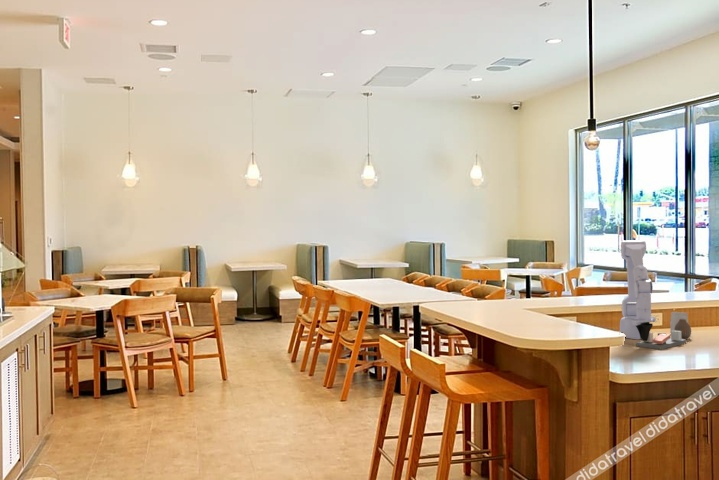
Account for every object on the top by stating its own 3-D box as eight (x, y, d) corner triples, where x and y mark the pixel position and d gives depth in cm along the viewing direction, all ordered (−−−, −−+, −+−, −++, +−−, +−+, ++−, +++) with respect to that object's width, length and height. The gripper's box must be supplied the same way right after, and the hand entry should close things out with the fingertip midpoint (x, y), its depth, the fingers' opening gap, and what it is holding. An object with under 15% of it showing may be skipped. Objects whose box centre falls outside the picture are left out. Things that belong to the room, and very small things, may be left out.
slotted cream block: (642, 341, 300) (642, 332, 299) (646, 340, 301) (645, 331, 301) (649, 342, 297) (649, 333, 297) (653, 341, 298) (652, 332, 298)
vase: (688, 337, 315) (687, 317, 315) (693, 339, 308) (693, 320, 308) (671, 337, 316) (671, 317, 315) (677, 340, 309) (677, 320, 309)
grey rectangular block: (685, 335, 320) (685, 313, 320) (670, 334, 324) (670, 312, 324) (688, 334, 323) (688, 312, 322) (673, 332, 327) (672, 311, 327)
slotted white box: (671, 339, 301) (671, 330, 301) (674, 339, 302) (674, 330, 302) (678, 340, 298) (678, 331, 298) (681, 339, 300) (681, 330, 300)
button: (656, 337, 308) (656, 333, 308) (660, 336, 310) (660, 332, 310) (663, 338, 305) (663, 334, 305) (668, 337, 307) (668, 333, 307)
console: (636, 346, 298) (636, 340, 298) (662, 339, 310) (662, 334, 310) (660, 349, 289) (660, 343, 289) (686, 343, 301) (686, 337, 301)
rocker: (652, 342, 294) (652, 339, 294) (661, 336, 298) (661, 333, 298) (661, 344, 291) (661, 340, 290) (670, 337, 295) (670, 334, 294)
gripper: (642, 311, 289) (643, 344, 290) (662, 307, 298) (662, 339, 298) (627, 309, 295) (627, 341, 295) (646, 306, 304) (647, 337, 304)
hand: (644, 340), depth 297 cm, fingers closed
